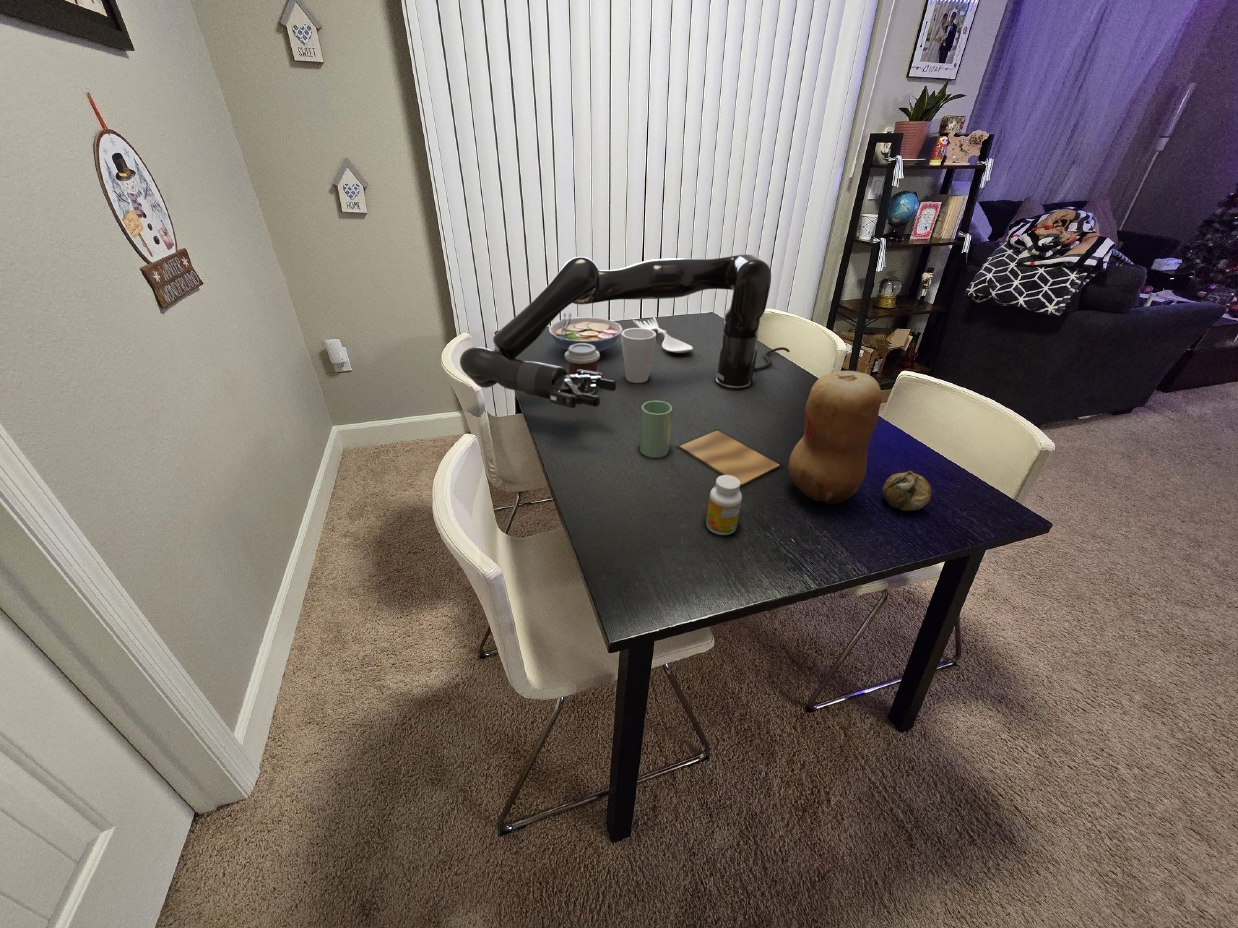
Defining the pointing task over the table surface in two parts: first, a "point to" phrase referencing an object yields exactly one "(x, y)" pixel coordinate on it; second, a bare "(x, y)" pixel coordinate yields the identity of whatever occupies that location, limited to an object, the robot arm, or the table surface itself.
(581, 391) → the robot arm
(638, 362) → the foam cup
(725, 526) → the supplement bottle
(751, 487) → the table surface
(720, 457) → the placemat
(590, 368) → the coffee cup
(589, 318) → the ramen bowl
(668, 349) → the spoon
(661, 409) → the cup
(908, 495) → the onion
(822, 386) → the butternut squash
